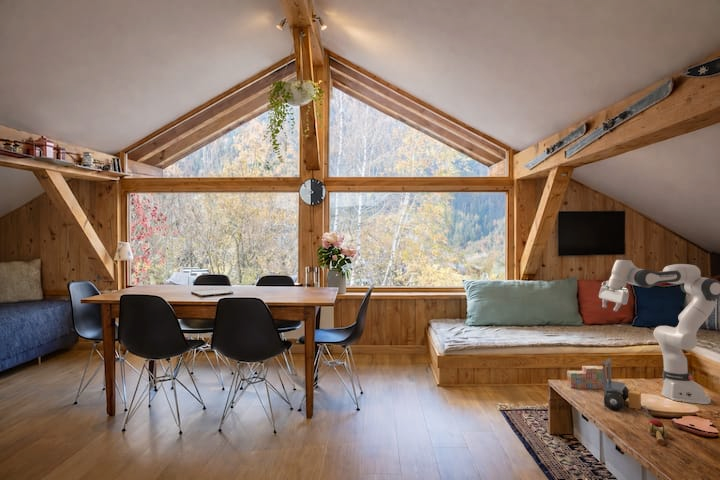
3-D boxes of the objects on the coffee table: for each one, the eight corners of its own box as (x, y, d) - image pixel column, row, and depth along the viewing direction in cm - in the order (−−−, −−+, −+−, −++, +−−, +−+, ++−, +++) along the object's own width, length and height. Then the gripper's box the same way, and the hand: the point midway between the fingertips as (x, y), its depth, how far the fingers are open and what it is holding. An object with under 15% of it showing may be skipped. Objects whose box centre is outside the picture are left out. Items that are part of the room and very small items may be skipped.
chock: (641, 406, 237) (640, 391, 237) (639, 409, 233) (639, 394, 233) (630, 404, 240) (629, 390, 240) (628, 407, 236) (628, 392, 236)
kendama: (674, 450, 190) (666, 428, 206) (670, 436, 190) (663, 415, 206) (653, 450, 194) (647, 428, 210) (649, 436, 194) (644, 416, 210)
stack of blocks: (571, 388, 269) (570, 368, 270) (567, 385, 276) (566, 365, 276) (607, 388, 267) (607, 368, 268) (603, 385, 274) (602, 365, 274)
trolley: (630, 401, 245) (628, 359, 246) (623, 412, 229) (621, 367, 230) (610, 397, 252) (609, 356, 252) (602, 408, 235) (601, 364, 236)
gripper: (634, 290, 240) (627, 314, 240) (609, 284, 261) (603, 307, 261) (624, 287, 240) (616, 311, 240) (600, 282, 260) (593, 304, 260)
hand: (609, 309), depth 250 cm, fingers open, 8 cm apart
